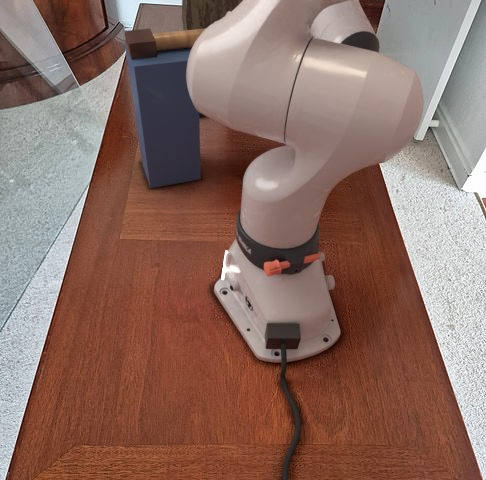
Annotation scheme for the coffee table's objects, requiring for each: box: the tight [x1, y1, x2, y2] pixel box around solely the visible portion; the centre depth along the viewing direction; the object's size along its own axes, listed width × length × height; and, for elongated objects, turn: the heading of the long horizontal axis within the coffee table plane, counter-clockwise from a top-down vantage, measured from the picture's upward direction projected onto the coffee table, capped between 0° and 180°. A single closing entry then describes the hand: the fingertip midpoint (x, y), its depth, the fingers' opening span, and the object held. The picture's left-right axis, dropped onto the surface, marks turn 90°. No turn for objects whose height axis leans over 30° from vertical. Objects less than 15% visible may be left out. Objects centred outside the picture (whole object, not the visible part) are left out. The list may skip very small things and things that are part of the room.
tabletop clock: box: [181, 0, 243, 31], centre depth 109 cm, size 14×9×25 cm, turn 92°
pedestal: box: [123, 40, 202, 189], centre depth 82 cm, size 8×10×24 cm
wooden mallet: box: [123, 28, 205, 59], centre depth 72 cm, size 18×4×2 cm, turn 109°
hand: (217, 33), depth 73 cm, fingers closed on wooden mallet, 2 cm apart
